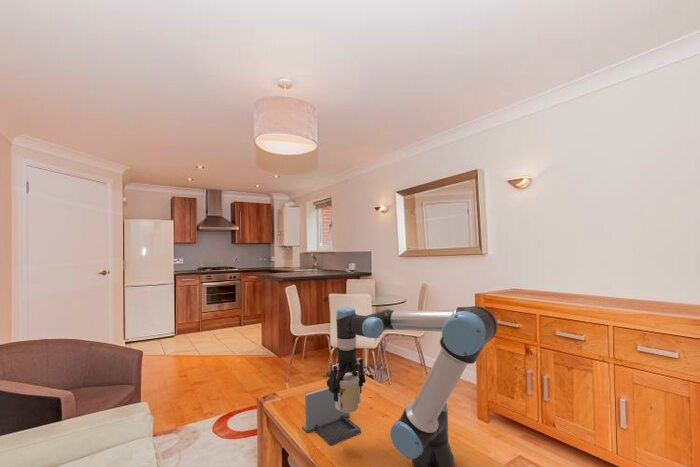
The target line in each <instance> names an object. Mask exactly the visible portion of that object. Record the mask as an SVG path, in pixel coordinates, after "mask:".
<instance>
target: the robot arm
mask: <svg viewBox="0 0 700 467" xmlns="http://www.w3.org/2000/svg"><path fill="white" fill-rule="evenodd" d="M335 321H336V343H337V344H336V345H337V349H336V350H337V351H336V352H337V354H336V356H337V363H336V364H331V365H330V371H331V377H329V378H330V384H329V391H330V392H332V393H333V396H334V401H335V408H336V409H338V410H339V411H340V410H341V397H340V392H339V389H340V384H339V383H340V381H342V380H343V377H344V376H345V374H346V373H352V375H354V376H357V375H358V377H359V393H358V404H361V394H362V388H363V386H364V384H366V377H365V371H364V366H363V363H364V362H363V359H362V358H360V357H357V348H356V347H357V336H359V337H364V338H368V339H379V338H380V337H381V335H382V334H383V332H385V331H391V330H392V331H393V330H394V331H414V332H416V331H417V332H436V333H437V332H438V333H439V332H441V337H440V340H439V345H440V348H441V349H440V352H439V353H438V355H437V357H436V359H435V361H434V363H433V364H432V367H431V369H430V370H429V372H428V374H427V376H426V378H425V380H424V382H423V384H422V386H421V388H420V390H419V392H418V393H417V396H415V398H414V401H411V402H409V403H407V405H405V408H404V409H403V412H402V413H401V416H400V418H399V419H398V420H397V421H394V422H393V424H392V426H391V428H390V439H391V442H392V444H393V446H394V448H395V449H396V450H397V452H398V453H399V454H400V455H401V456H403V457H405V458H406V459H410V460H411V463H412V464H413V466H414V467H454V466H455V461H454V454H453V452H452V450H451V446H450V443H449V426H448V425H449V422H448V421H449V420H448V419H449V415H448V414H449V413H448V411H449V410H448V404H447V402H448V400H449V398H450V396H451V395H452V393H453V392H454V389H455V388H456V386H457V384H458V382H459V380H460V378H461V377H462V375H463V373H464V371H465V369H466V368H467V366H468V365H473V364H475V362H476V361H477V359H478V357H479V356H480V354H481V352H482V351H483V348H484V347H485V345H486V344H487V343H489V342H491V340H492V339H494V337H496V334H497V331H498V321H497V318H496V316H495V315H494V314H493V312H492V311H491V310H489V309H487V308H486V307H484V306H480V305H474V306H473V305H472V306H462V307H461V306H458V307H456V308H454V309H450V310H449V309H447V310H446V309H444V310H443V309H439V310H437V309H435V310H434V309H432V310H431V309H429V310H427V309H426V310H421V309H420V310H418V309H417V310H415V309H414V310H412V309H411V310H410V309H409V310H404V309H403V310H398V309H397V310H395V309H393V308H389V309H386V308H385V309H383V310H381V311H378V312H375V313H371V314H368V315H362V314H356V309H355V308H354V307H351V306H350V307H348V306H347V307H346V306H345V307H340V308H337V310H336V319H335ZM337 370H338V374H337ZM336 378H337V379H336Z"/></svg>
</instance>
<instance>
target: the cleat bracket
mask: <svg viewBox="0 0 700 467" xmlns="http://www.w3.org/2000/svg"><path fill="white" fill-rule="evenodd" d="M361 431H362V430H361V427H359V425H357V424H356V423H354V422H353V421H352V420H351V419H350V418H346V417H345V416H344V415H342V416H341V420H339V421H336V422H333V423H331V424H328V425H325V426H323V427H320V426H318V425H315V433H317V435H318V436H319V437H320V438H322V439H323V440H324V441H325V442H326V443H327V444H328V445H329V446H333V445H336V444H338V443H341V442H343V441H345V440H348V439H350V438H352V437H355V436H357V435H359V434H361V433H362V432H361Z"/></svg>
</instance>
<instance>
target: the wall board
mask: <svg viewBox="0 0 700 467" xmlns="http://www.w3.org/2000/svg"><path fill="white" fill-rule="evenodd" d="M304 397H305V398H304V407H305V408H304V409H305V410H304V411H305V414H304V415H305V416H304V417H305V424H304V425H301V428H302V429H303V431H305V433H307V434H309V433H311V432H314V431H315V425H318V426H320V427H323V426H325V425H328V424H331V423H333V422H336V421H339V420H341V416H342V415H344V416H345V417H346V418H348V419H350V417H351V412H350V413H345V412H341V411H339V410H338V409H336V408H335V401H334V396H333V393H332V392H330V391H329V387H328V386H326V387H324V388H320V389H318V390H314V391H312V392H307V393H305V394H304ZM315 432H316V431H315Z"/></svg>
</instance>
